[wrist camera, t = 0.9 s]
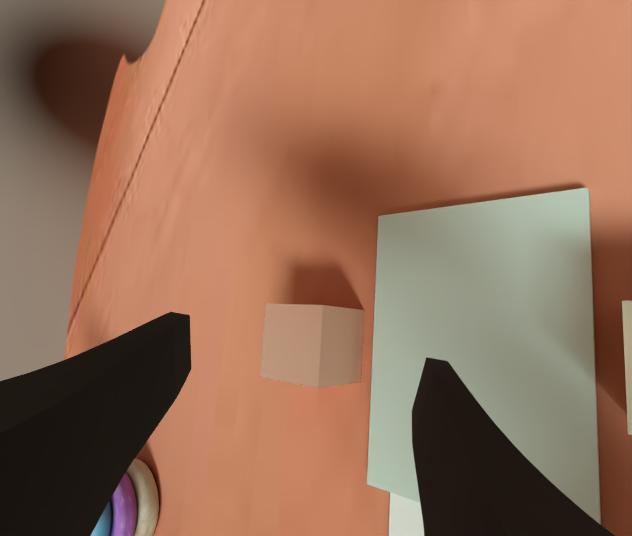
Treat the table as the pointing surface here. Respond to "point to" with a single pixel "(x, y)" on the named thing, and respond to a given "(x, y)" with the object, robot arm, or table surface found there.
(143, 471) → the stacking toy
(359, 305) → the table surface
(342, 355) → the pinkish tan cube
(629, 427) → the beech block
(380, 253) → the plate
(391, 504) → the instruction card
